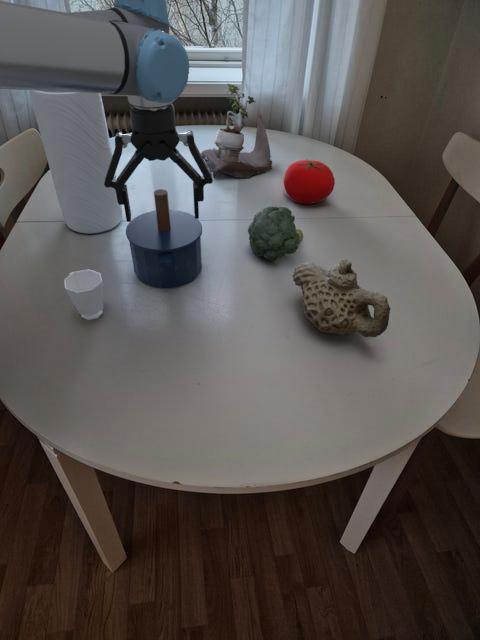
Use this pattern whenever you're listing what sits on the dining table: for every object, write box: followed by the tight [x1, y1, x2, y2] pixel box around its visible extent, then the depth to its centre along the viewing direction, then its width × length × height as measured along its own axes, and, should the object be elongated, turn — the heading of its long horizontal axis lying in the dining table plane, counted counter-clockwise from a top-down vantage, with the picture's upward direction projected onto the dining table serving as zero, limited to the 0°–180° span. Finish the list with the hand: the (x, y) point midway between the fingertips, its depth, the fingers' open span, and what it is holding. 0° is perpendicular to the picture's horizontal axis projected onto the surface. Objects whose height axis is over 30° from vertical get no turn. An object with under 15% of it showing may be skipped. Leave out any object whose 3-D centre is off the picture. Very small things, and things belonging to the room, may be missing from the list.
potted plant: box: [200, 82, 273, 180], centre depth 131 cm, size 20×19×25 cm
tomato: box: [283, 159, 336, 205], centre depth 118 cm, size 14×13×10 cm
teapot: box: [292, 258, 391, 338], centre depth 78 cm, size 21×12×15 cm, turn 40°
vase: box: [28, 90, 124, 235], centre depth 98 cm, size 14×14×32 cm
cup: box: [63, 268, 104, 321], centre depth 82 cm, size 7×10×8 cm
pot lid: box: [125, 188, 203, 252], centre depth 86 cm, size 16×16×9 cm
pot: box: [128, 236, 203, 290], centre depth 92 cm, size 15×20×10 cm
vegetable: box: [247, 205, 304, 262], centre depth 98 cm, size 12×13×15 cm
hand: (163, 216), depth 87 cm, fingers open, 13 cm apart
